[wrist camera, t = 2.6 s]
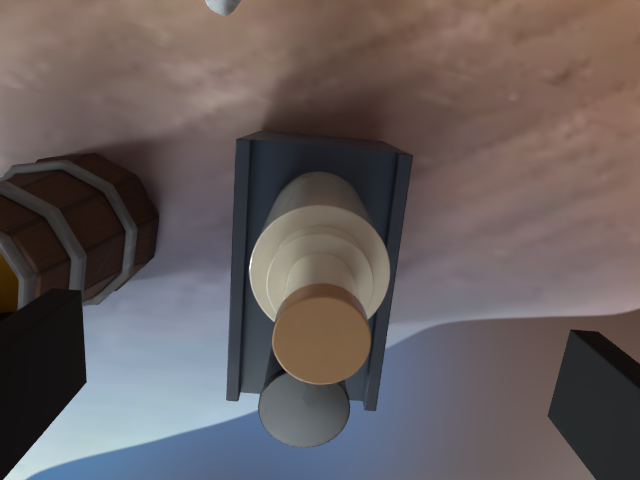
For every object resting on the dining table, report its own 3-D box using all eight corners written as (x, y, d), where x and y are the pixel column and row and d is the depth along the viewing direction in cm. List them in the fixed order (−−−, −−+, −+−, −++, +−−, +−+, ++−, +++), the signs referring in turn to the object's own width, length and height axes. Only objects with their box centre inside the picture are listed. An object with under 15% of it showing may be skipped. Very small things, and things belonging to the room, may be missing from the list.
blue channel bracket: (261, 130, 37) (236, 138, 25) (382, 141, 37) (413, 155, 25) (251, 320, 41) (226, 400, 30) (359, 328, 42) (376, 411, 30)
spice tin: (272, 310, 29) (260, 366, 23) (346, 316, 29) (354, 372, 23) (268, 375, 30) (255, 445, 24) (338, 380, 31) (344, 451, 24)
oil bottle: (275, 167, 27) (224, 238, 12) (369, 175, 27) (436, 255, 12) (269, 257, 28) (218, 420, 13) (358, 264, 28) (406, 433, 13)
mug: (112, 128, 36) (-21, 140, 22) (183, 257, 40) (107, 342, 25) (-49, 204, 38) (-271, 262, 24) (31, 323, 41) (-122, 438, 27)
